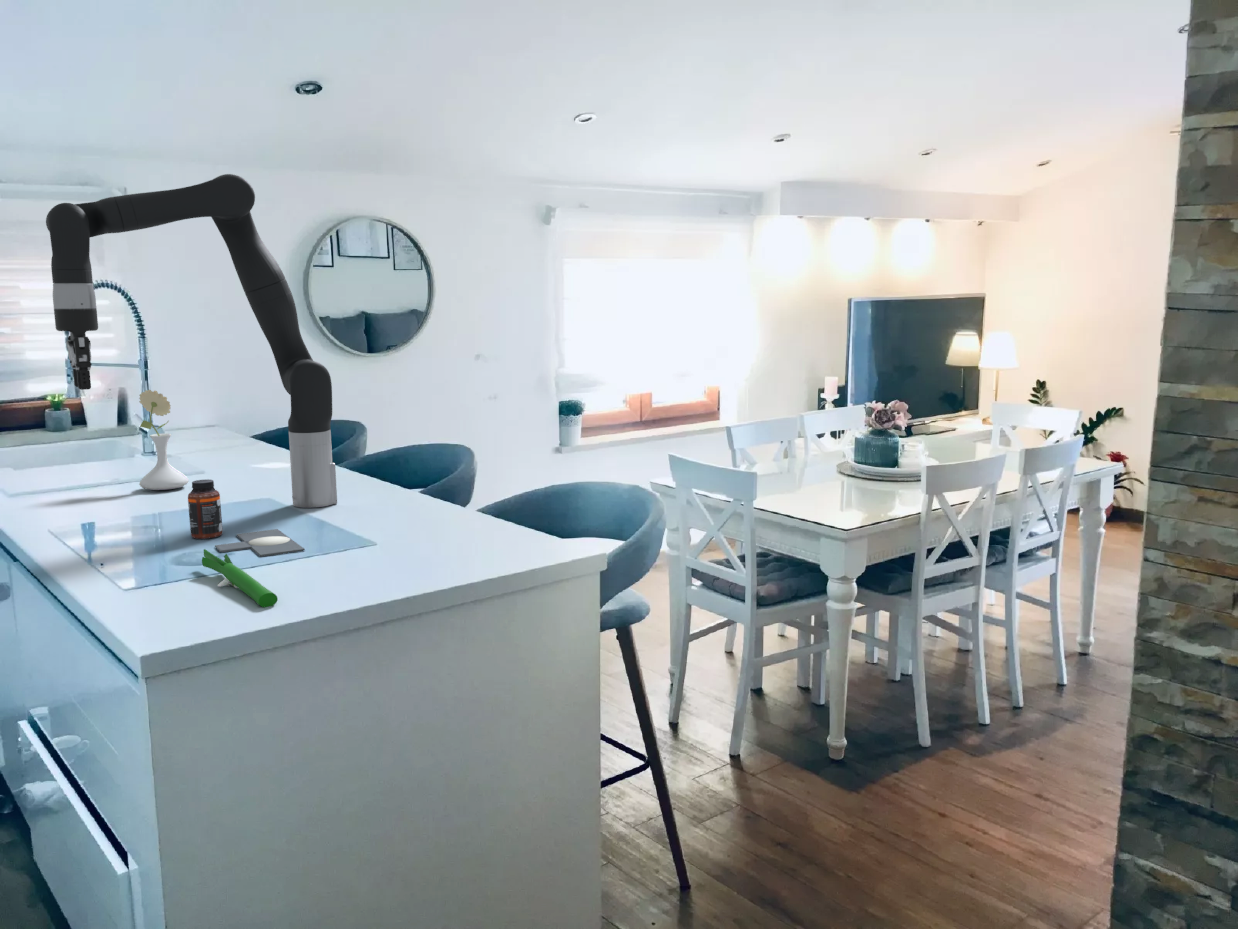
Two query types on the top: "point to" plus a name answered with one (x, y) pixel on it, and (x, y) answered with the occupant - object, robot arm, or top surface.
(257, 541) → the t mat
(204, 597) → the top surface
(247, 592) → the green onion
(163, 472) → the flower in vase
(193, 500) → the supplement bottle
